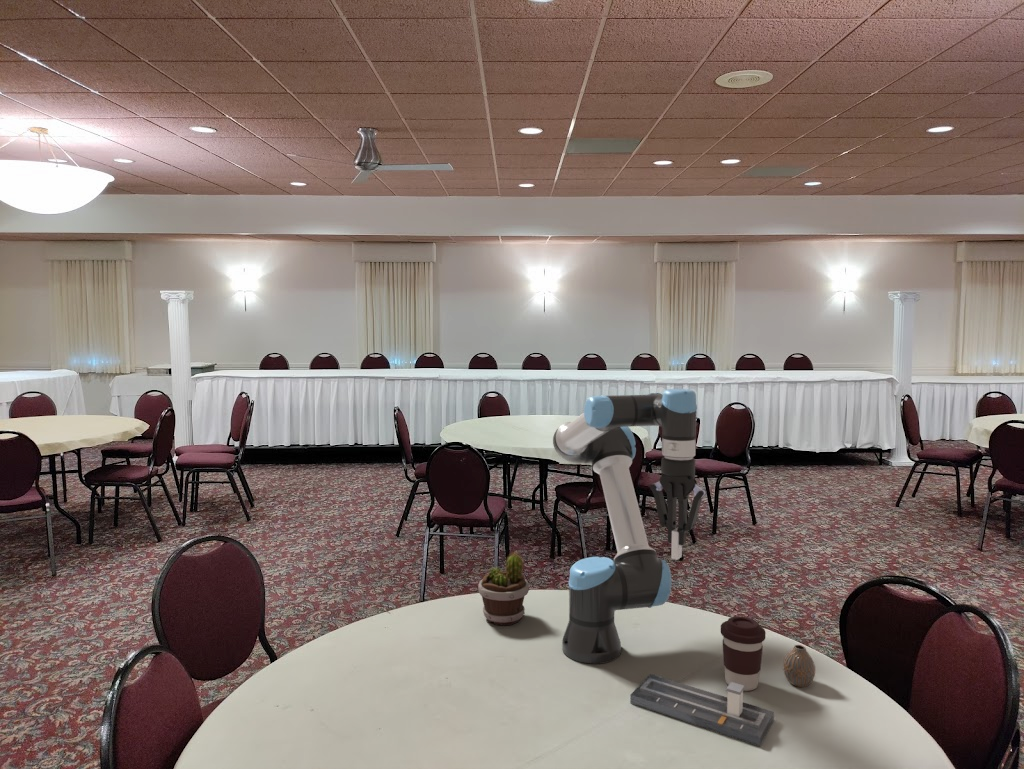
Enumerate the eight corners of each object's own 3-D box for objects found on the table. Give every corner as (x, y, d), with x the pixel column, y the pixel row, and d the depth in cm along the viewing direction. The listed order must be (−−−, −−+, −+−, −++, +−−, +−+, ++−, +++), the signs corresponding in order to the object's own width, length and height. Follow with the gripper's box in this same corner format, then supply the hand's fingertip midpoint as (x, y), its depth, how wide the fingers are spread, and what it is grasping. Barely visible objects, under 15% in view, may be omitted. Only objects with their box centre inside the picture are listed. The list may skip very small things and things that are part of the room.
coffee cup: (763, 676, 162) (765, 616, 161) (764, 698, 152) (766, 634, 151) (720, 670, 165) (721, 610, 164) (718, 690, 156) (720, 627, 155)
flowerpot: (483, 632, 186) (482, 561, 184) (474, 609, 201) (474, 544, 199) (534, 627, 189) (534, 557, 187) (522, 605, 204) (522, 541, 202)
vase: (817, 692, 155) (819, 655, 154) (785, 688, 156) (787, 652, 156) (810, 677, 162) (812, 641, 161) (780, 674, 163) (781, 639, 162)
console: (630, 703, 150) (630, 692, 150) (650, 682, 160) (650, 671, 159) (759, 747, 135) (760, 734, 134) (773, 720, 144) (774, 708, 143)
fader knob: (725, 713, 142) (726, 688, 142) (730, 706, 145) (731, 681, 144) (739, 718, 141) (740, 692, 140) (743, 711, 143) (744, 685, 143)
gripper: (645, 456, 155) (643, 556, 157) (700, 462, 148) (698, 567, 150) (657, 451, 161) (656, 548, 163) (711, 457, 154) (709, 558, 156)
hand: (676, 557), depth 156 cm, fingers closed
